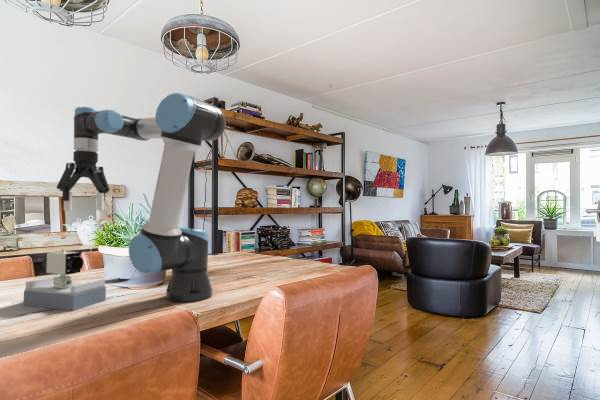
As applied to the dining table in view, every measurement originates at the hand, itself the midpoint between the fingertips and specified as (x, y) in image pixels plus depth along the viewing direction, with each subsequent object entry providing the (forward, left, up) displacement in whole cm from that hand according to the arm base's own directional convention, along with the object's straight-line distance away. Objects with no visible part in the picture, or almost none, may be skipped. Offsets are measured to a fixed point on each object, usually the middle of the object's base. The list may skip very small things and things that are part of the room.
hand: (84, 210), depth 129 cm
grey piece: (-7, +14, -29) cm, 33 cm away
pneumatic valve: (-8, +15, -24) cm, 29 cm away
